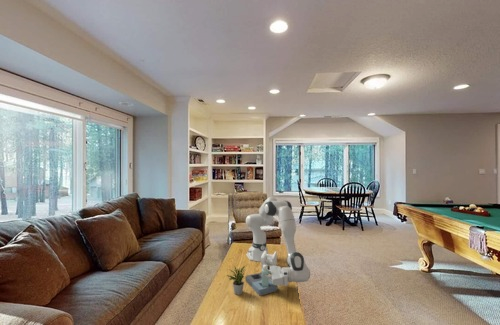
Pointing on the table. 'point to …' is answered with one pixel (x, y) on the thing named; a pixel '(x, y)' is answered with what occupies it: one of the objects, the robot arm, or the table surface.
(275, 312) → the table surface
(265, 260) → the cable organizer
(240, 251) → the table surface
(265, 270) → the plug
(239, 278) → the house plant
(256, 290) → the socket panel
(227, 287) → the table surface
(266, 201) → the robot arm
